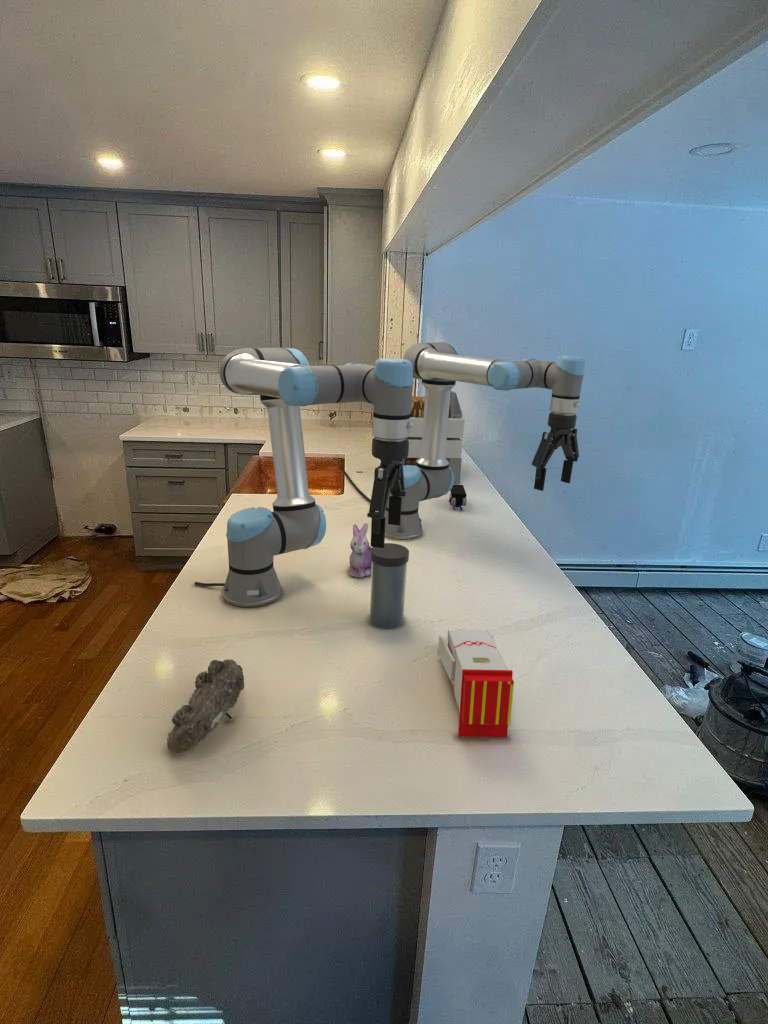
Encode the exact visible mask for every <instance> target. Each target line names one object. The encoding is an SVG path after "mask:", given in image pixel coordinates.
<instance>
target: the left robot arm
mask: <svg viewBox="0 0 768 1024" xmlns="http://www.w3.org/2000/svg"><path fill="white" fill-rule="evenodd" d="M218 373H219V374H218V375H219V378H220V381H221V383H222V385H223V387H225V388H226V389H227V390H228V391H230V392H231V393H233V394H236V395H242V396H259V399H260V403H261V404H262V405H263V406H264V407H265V408H266V409H267V416H268V418H267V419H268V427H269V435H270V444H271V445H270V446H271V452H272V453H271V454H272V461H273V469H274V471H273V472H274V479H275V487H276V495H277V497H276V498H275V500H274V501H273V502H272V510H273V511H271V510H270V509H269V508H267V507H263V506H259V507H253V506H252V507H248V508H244V509H241V510H238V511H236V512H234V513H232V515H230V517H228V519H227V522H226V535H225V537H226V541H227V557H228V572H227V575H226V578H225V581H224V582H223V583H222V582H209V583H208V582H198V581H195V582H194V585H195V586H200V587H223V591H222V597H223V600H224V601H225V602H226V603H227V604H229V605H232V606H235V607H238V608H259V607H264V606H267V605H270V604H272V603H274V602H275V601H277V600H278V599H279V598H280V596H281V595H282V594H281V593H282V585H281V582H280V580H279V577H278V575H277V574H278V573H277V572H276V569H275V567H274V566H275V565H274V557H275V556H278V555H283V554H287V553H291V552H295V551H299V550H300V551H301V550H307V549H309V548H312V547H315V546H318V545H319V544H320V543H321V542H322V541H323V539H324V538H325V535H326V533H327V532H326V531H327V517H326V514H325V513H324V509H323V507H322V506H320V505H319V504H317V503H316V498H314V497H313V496H312V495H311V494H310V491H309V490H310V489H309V480H308V479H309V478H308V472H307V471H308V470H307V461H306V452H305V443H304V441H305V440H304V433H303V423H302V416H301V415H302V413H301V407H307V406H315V405H327V404H347V403H357V402H358V403H359V402H361V403H363V402H364V403H367V404H371V405H373V411H372V428H371V429H372V431H371V435H372V436H373V438H372V440H371V456H372V457H373V458H375V459H378V460H379V461H380V463H379V466H377V467H375V468H374V474H373V475H374V476H373V485H372V490H371V496H370V500H371V502H369V510H368V512H367V513H366V517H367V518H370V519H371V521H370V523H371V525H370V547H371V548H372V547H378V548H384V543H386V542H385V541H386V540H385V539H386V537H385V521H386V517H384V514H385V510H386V505H387V501H388V496H389V492H390V493H391V495H393V496H389V512H388V524H391V525H398V526H400V521H401V503H402V497H400V496H404V497H405V495H406V492H404V490H405V486H404V473H403V459H406V458H407V457H408V453H409V441H408V439H407V438H408V437H409V432H410V428H412V427H413V424H412V423H410V416H411V402H412V396H413V389H414V388H413V386H414V378H413V365H412V363H411V362H410V361H409V360H405V359H403V358H395V357H394V358H393V357H382V358H377V359H376V360H375V363H374V365H370V364H365V363H363V362H348V363H345V364H333V365H332V364H331V365H310V363H309V360H308V359H307V356H305V355H304V353H303V352H302V351H301V350H299V349H297V348H291V347H284V346H283V347H243V348H238V349H234V350H233V351H230V352H229V353H227V354H226V355H225V357H223V359H222V360H221V362H220V365H219V372H218Z"/></svg>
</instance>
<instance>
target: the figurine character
mask: <svg viewBox="0 0 768 1024" xmlns="http://www.w3.org/2000/svg"><path fill="white" fill-rule="evenodd" d="M448 502H449V505H450V507H452V509H453V511H456V509H460V511H463V507H464V508H465V507H467V503H468V498H467V492H466V489H465V487H464V484H457V483H454V484H453V487H452V489H451V490H450V491H449V494H448Z"/></svg>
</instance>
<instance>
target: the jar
mask: <svg viewBox="0 0 768 1024" xmlns="http://www.w3.org/2000/svg"><path fill="white" fill-rule="evenodd" d="M407 564H408V562H407V563H406V564H404V565H402V566H398V567H385V566H380V565H377V564H375V563H373V562H372V567H371V574H370V592H369V593H370V594H369V595H370V596H369V623H370V624H371V625H372V626H374V627H376V628H379V629H384V630H392V629H396V628H398V627H400V626H402V625H403V624H404V618H405V617H404V616H405V615H404V614H405V600H406V585H407V583H406V582H407V566H408V565H407Z"/></svg>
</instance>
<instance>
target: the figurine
mask: <svg viewBox="0 0 768 1024" xmlns="http://www.w3.org/2000/svg"><path fill="white" fill-rule="evenodd" d="M368 529H369V524H368V523H367V522H366V523H364V524H363V525H362V527H361V528H360V529H359V526H358V525H357V524H356V523H354V524H352V538H351V541H350V544H349V546H350V549H351V553H350V555H349V567H348V572H349V575H350V576H351V577H355V578H363V577H368V576H371V567H372V561H371V559H370V555H371V548H372V547H371V545H370V542H369V540H368V537H367V533H368Z"/></svg>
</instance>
